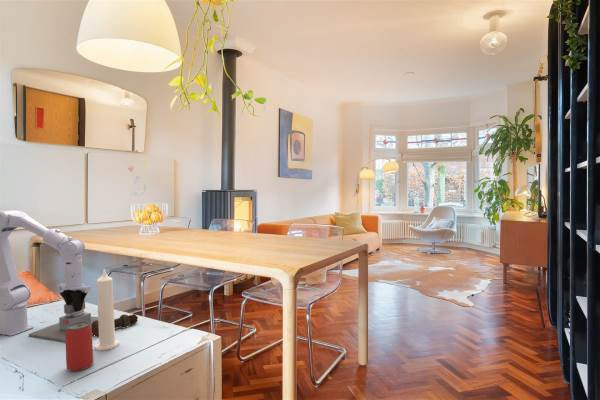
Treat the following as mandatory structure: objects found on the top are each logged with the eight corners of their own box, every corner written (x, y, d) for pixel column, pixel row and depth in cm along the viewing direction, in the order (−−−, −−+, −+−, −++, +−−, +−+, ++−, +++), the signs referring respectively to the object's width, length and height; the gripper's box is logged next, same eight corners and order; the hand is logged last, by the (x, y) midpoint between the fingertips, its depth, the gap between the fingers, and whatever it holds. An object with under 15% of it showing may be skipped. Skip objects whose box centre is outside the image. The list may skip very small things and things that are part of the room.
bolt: (137, 328, 138) (95, 340, 127) (131, 319, 141) (89, 330, 129) (141, 316, 136) (98, 327, 125) (135, 307, 139) (93, 317, 127)
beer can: (97, 360, 108) (96, 320, 108) (85, 371, 102) (83, 329, 101) (75, 361, 108) (73, 321, 108) (61, 372, 101) (59, 330, 101)
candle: (92, 352, 114) (88, 272, 113) (98, 343, 121) (95, 268, 120) (117, 349, 116) (113, 270, 115) (121, 340, 123) (118, 266, 122)
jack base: (28, 336, 128) (27, 320, 128) (80, 316, 147) (79, 303, 147) (70, 343, 121) (69, 327, 121) (118, 321, 140) (118, 308, 140)
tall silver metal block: (63, 326, 132) (62, 304, 132) (78, 320, 138) (77, 299, 137) (72, 327, 130) (71, 305, 130) (87, 321, 136) (86, 300, 136)
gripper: (48, 274, 132) (50, 311, 133) (78, 277, 127) (79, 315, 128) (66, 270, 139) (68, 305, 139) (95, 272, 134) (96, 309, 134)
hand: (74, 310), depth 134 cm, fingers closed on tall silver metal block, 3 cm apart
